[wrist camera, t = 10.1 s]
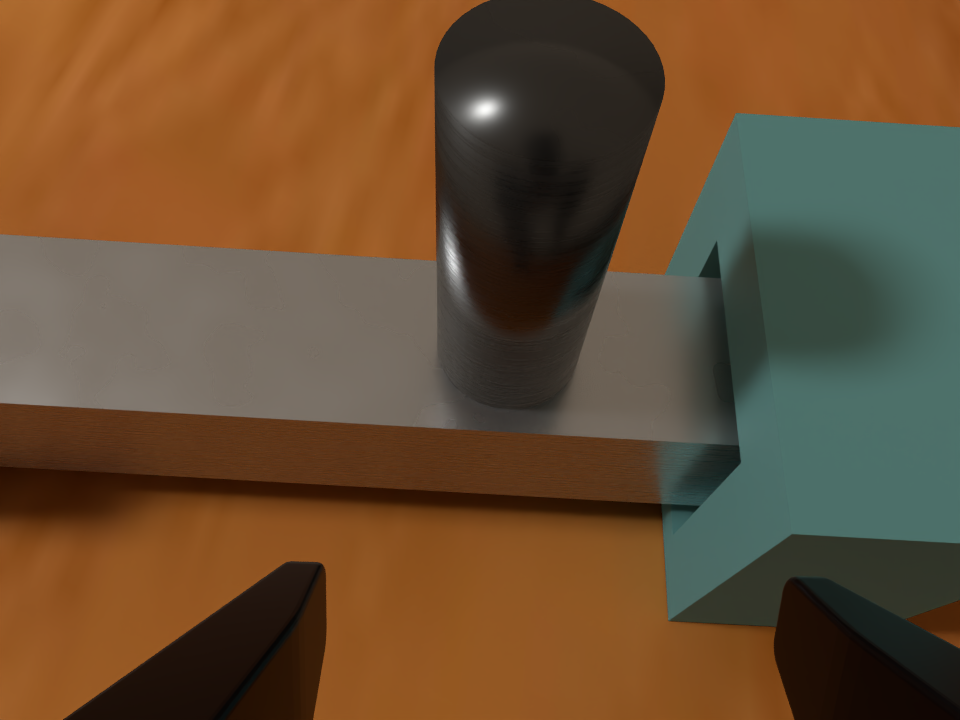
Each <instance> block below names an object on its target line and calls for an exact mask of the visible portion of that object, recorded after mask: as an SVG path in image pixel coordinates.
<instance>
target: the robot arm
mask: <svg viewBox="0 0 960 720" xmlns="http://www.w3.org/2000/svg"><path fill="white" fill-rule="evenodd" d="M326 627H327V626H326V573H325V568H324V566H323V565H322V564H321V563H318V562H295V561H290V562H286V563H284V564H283V565H281V566H280V567H278V568H277V569H276V570H274V571H273V572H271V573H270V574H268V575H267V576H266V577H264V578H263V579H261V580H260V581H259V582H257V583H256V584H254V585H253V586H251V587H250V588H249V589H247V590H246V591H244V592H243V593H242V594H240V595H239V596H237V597H236V598H234V599H233V600H232V601H230V602H229V603H227V604H226V605H225V606H223V607H222V608H220V609H219V610H217V611H216V612H215V613H213V614H212V615H210V616H209V617H208V618H206V619H205V620H203V621H202V622H201V623H199V624H198V625H196V626H195V627H193V628H192V629H191V630H189V631H188V632H186V633H185V634H184V635H182V636H181V637H179V638H178V639H176V640H175V641H174V642H172V643H171V644H169V645H168V646H167V647H165V648H164V649H162V650H161V651H159V652H158V653H157V654H155V655H154V656H152V657H151V658H150V659H148V660H147V661H145V662H144V663H143V664H141V665H140V666H138V667H137V668H135V669H134V670H133V671H131V672H130V673H128V674H127V675H126V676H124V677H123V678H121V679H120V680H118V681H117V682H116V683H114V684H113V685H111V686H110V687H109V688H107V689H106V690H104V691H103V692H101V693H100V694H99V695H97V696H96V697H94V698H93V699H92V700H90V701H89V702H87V703H86V704H84V705H83V706H82V707H80V708H79V709H77V710H76V711H75V712H73V713H72V714H70V715H69V716H68V717H66V718H65V719H63V720H313V717H314V711H315V705H316V699H317V693H318V687H319V681H320V675H321V669H322V663H323V658H324V652H325V644H326ZM774 655H775V660H776V664H777V667H778V670H779V673H780V676H781V679H782V683H783V686H784V689H785V692H786V695H787V698H788V701H789V704H790V707H791V710H792V714H793V717H794V720H960V648H958V647H956V646H954V645H952V644H950V643H948V642H946V641H945V640H943V639H941V638H939V637H937V636H935V635H933V634H931V633H930V632H928V631H926V630H924V629H922V628H920V627H918V626H916V625H914V624H913V623H911V622H909V621H907V620H905V619H903V618H901V617H899V616H898V615H896V614H894V613H892V612H890V611H888V610H886V609H884V608H883V607H881V606H879V605H877V604H875V603H873V602H871V601H869V600H868V599H866V598H864V597H862V596H860V595H858V594H856V593H854V592H853V591H851V590H849V589H847V588H845V587H843V586H841V585H839V584H838V583H836V582H834V581H832V580H830V579H828V578H824V577H806V576H794V577H791V578H789V579H788V580H787V581H786V583H785V585H784V588H783V592H782V598H781V603H780V609H779V615H778V620H777V626H776V632H775V637H774Z"/></svg>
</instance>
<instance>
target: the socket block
mask: <svg viewBox="0 0 960 720" xmlns="http://www.w3.org/2000/svg"><path fill="white" fill-rule="evenodd" d="M665 275H673V276H689V277H705V278H721V282H722V291H723V300H724V309H725V318H726V328H727V337H728V346H729V355H730V365H731V374H732V383H733V392H734V401H735V411H736V420H737V429H738V438H739V448H740V457H741V463H740V465H739V466H738V467H737V468H736V469H735V470H734V471H733V472H732V473H731V474H730V475H729V476H728V477H727V478H726V479H725V480H724V481H723V483H722V484H721V485H720V486H719V487H718V488H717V489H716V490H715V491H714V492H713V493H712V494H711V495H710V496H709V497H708V498H707V500H706V501H705V502H704V503H703V504H702V505H701V506H693V505H676V504H662V520H663V537H664V553H665V570H666V587H667V604H668V621H681V622H700V623H718V624H737V625H755V626H774V627H776V626H777V620H778V615H779V609H780V603H781V598H782V592H783V588H784V585H785V583H786V581H787V580H788V579H789V578H791V577H794V576H806V577H824V578H828V579H830V580H832V581H834V582H836V583H838V584H839V585H841V586H843V587H845V588H847V589H849V590H851V591H853V592H854V593H856V594H858V595H860V596H862V597H864V598H866V599H868V600H869V601H871V602H873V603H875V604H877V605H879V606H881V607H883V608H884V609H886V610H888V611H890V612H892V613H894V614H896V615H898V616H899V617H901V618H903V619H907V618H910V617H912V616H915V615H918V614H921V613H924V612H927V611H930V610H933V609H935V608H938V607H941V606H944V605H947V604H950V603H953V602H956V601H958V600H960V128H959V127H944V126H928V125H912V124H897V123H881V122H866V121H850V120H835V119H819V118H804V117H788V116H773V115H757V114H741V113H736V114H735V117H734V119H733V121H732V123H731V126H730V128H729V130H728V133H727V135H726V137H725V139H724V142H723V144H722V146H721V148H720V151H719V153H718V155H717V157H716V160H715V162H714V164H713V167H712V169H711V171H710V173H709V176H708V178H707V180H706V182H705V185H704V187H703V189H702V191H701V194H700V196H699V198H698V201H697V203H696V205H695V207H694V210H693V212H692V214H691V216H690V219H689V221H688V223H687V225H686V228H685V230H684V232H683V235H682V237H681V239H680V241H679V244H678V246H677V248H676V250H675V253H674V255H673V257H672V260H671V262H670V264H669V266H668V269H667V271H666V273H665Z"/></svg>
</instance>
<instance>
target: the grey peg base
mask: <svg viewBox="0 0 960 720" xmlns="http://www.w3.org/2000/svg"><path fill="white" fill-rule="evenodd" d="M664 90H665V76H664V70H663V65H662V63H661V60H660V57H659V55H658V53H657V51H656V49H655V47H654V45H653V44H652V43H651V41H650V40H649V39H648V37H647V36H646V35H645V34H644V33H643V32H642V31H641V30H640V29H639V28H638V27H637V26H636V25H635V24H634V23H632V22H631V21H630V20H629V19H628V18H626V17H624V16H623V15H621V14H620V13H618V12H617V11H615V10H613V9H611V8H609V7H607V6H605V5H603V4H600V3H598V2H595V1H593V0H490V1H487V2H484V3H482V4H480V5H478V6H477V7H475V8H473V9H471V10H470V11H468V12H467V13H465V14H464V15H462V16H461V17H460V18H459V19H458V20H457V21H456V22H455V23H453V25H452V26H451V27H450V28H449V29H448V31H447V32H446V33H445V35H444V37H443V39H442V40H441V42H440V45H439V47H438V50H437V53H436V58H435V166H436V261H427V260H410V259H394V258H377V257H361V256H345V255H328V254H312V253H296V252H279V251H263V250H246V249H230V248H214V247H197V246H181V245H164V244H148V243H132V242H115V241H99V240H82V239H66V238H50V237H33V236H17V235H0V466H2V467H19V468H37V469H55V470H73V471H90V472H108V473H126V474H144V475H161V476H179V477H197V478H214V479H232V480H250V481H268V482H285V483H303V484H321V485H339V486H356V487H374V488H392V489H410V490H427V491H445V492H463V493H480V494H498V495H516V496H534V497H551V498H569V499H587V500H605V501H622V502H640V503H658V504H676V505H693V506H701V505H702V504H703V503H704V502H705V501H706V500H707V498H708V497H709V496H710V495H711V494H712V493H713V492H714V491H715V490H716V489H717V488H718V487H719V486H720V485H721V484H722V483H723V481H724V480H725V479H726V478H727V477H728V476H729V475H730V474H731V473H732V472H733V471H734V470H735V469H736V468H737V467H738V466H739V465H740V463H741V457H740V448H739V438H738V429H737V420H736V411H735V401H734V392H733V383H732V374H731V365H730V355H729V346H728V337H727V328H726V318H725V309H724V300H723V291H722V282H721V278H705V277H689V276H673V275H656V274H640V273H623V272H607V269H608V266H609V263H610V260H611V257H612V254H613V251H614V248H615V245H616V242H617V239H618V236H619V232H620V229H621V226H622V223H623V220H624V217H625V214H626V211H627V208H628V205H629V202H630V199H631V195H632V192H633V189H634V186H635V183H636V180H637V177H638V174H639V171H640V168H641V165H642V162H643V158H644V155H645V152H646V149H647V146H648V143H649V140H650V137H651V134H652V131H653V128H654V125H655V121H656V118H657V115H658V112H659V109H660V106H661V103H662V100H663V95H664Z"/></svg>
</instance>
